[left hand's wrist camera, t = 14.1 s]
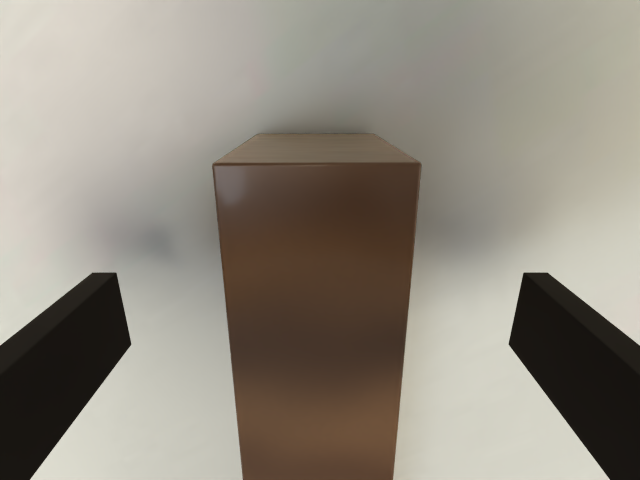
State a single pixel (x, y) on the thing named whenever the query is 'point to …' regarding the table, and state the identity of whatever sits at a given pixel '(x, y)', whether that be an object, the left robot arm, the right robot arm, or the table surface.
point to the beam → (317, 300)
